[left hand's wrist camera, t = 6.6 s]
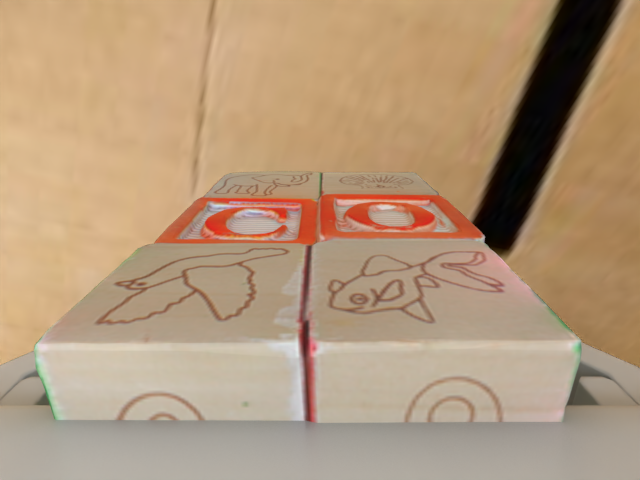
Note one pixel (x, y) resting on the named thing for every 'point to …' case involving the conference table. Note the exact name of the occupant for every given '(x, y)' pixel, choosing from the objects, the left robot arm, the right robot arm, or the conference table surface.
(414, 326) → the stack of blocks
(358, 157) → the conference table surface
